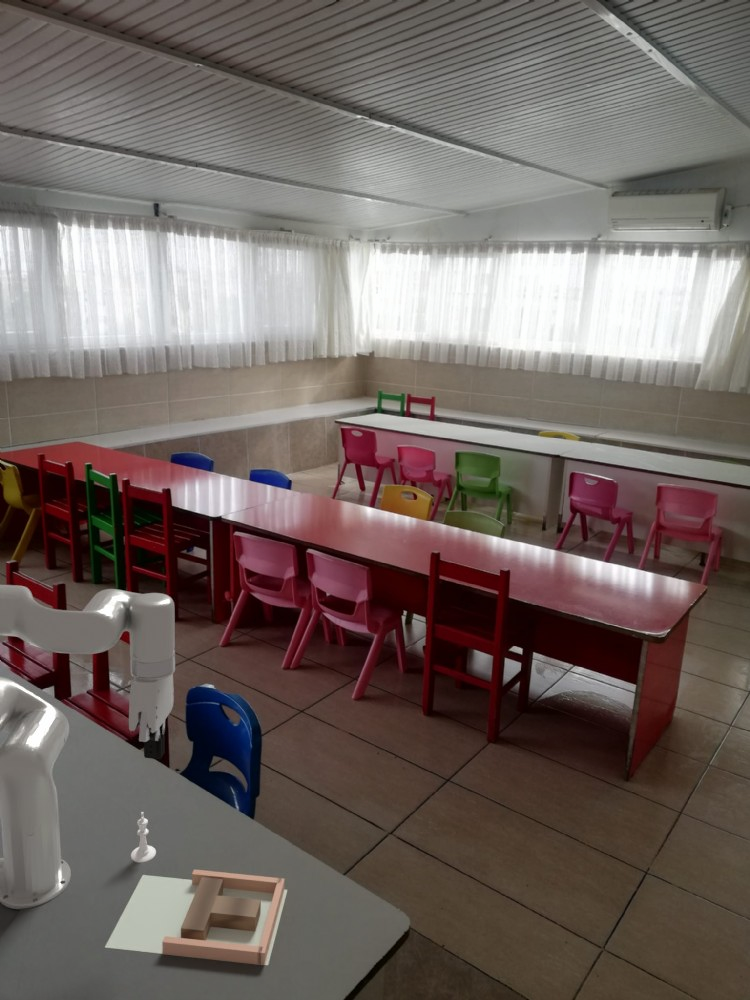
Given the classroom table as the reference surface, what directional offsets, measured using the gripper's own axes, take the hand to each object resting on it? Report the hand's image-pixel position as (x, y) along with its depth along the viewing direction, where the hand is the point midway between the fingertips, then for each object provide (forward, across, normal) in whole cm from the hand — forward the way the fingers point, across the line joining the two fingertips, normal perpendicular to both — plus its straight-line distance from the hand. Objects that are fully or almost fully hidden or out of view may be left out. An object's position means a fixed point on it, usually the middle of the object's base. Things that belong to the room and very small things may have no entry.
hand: (154, 755), depth 135 cm
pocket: (+26, +8, +16) cm, 32 cm away
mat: (+27, +8, +11) cm, 30 cm away
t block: (+26, +8, +15) cm, 31 cm away
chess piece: (+27, -6, -5) cm, 28 cm away
